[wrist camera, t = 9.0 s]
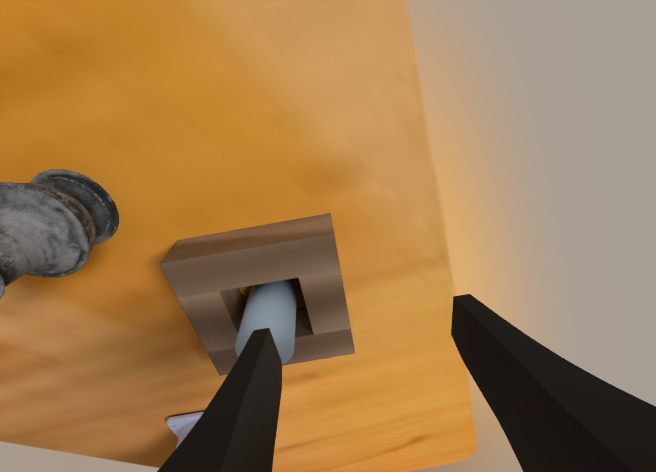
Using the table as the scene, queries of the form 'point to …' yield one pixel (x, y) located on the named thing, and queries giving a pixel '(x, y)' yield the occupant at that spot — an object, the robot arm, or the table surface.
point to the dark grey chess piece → (52, 224)
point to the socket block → (258, 268)
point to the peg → (271, 315)
